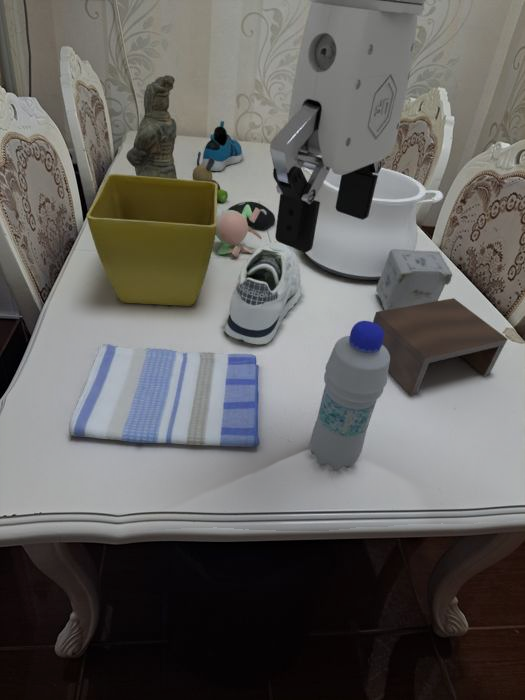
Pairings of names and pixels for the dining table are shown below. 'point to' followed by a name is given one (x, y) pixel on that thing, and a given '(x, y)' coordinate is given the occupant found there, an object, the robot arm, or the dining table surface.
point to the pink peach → (235, 229)
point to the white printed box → (412, 278)
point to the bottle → (350, 395)
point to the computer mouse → (264, 217)
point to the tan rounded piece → (208, 177)
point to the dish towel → (169, 398)
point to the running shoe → (264, 294)
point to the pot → (367, 226)
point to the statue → (155, 133)
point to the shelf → (436, 339)
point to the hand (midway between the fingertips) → (324, 229)
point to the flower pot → (154, 236)
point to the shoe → (222, 149)
